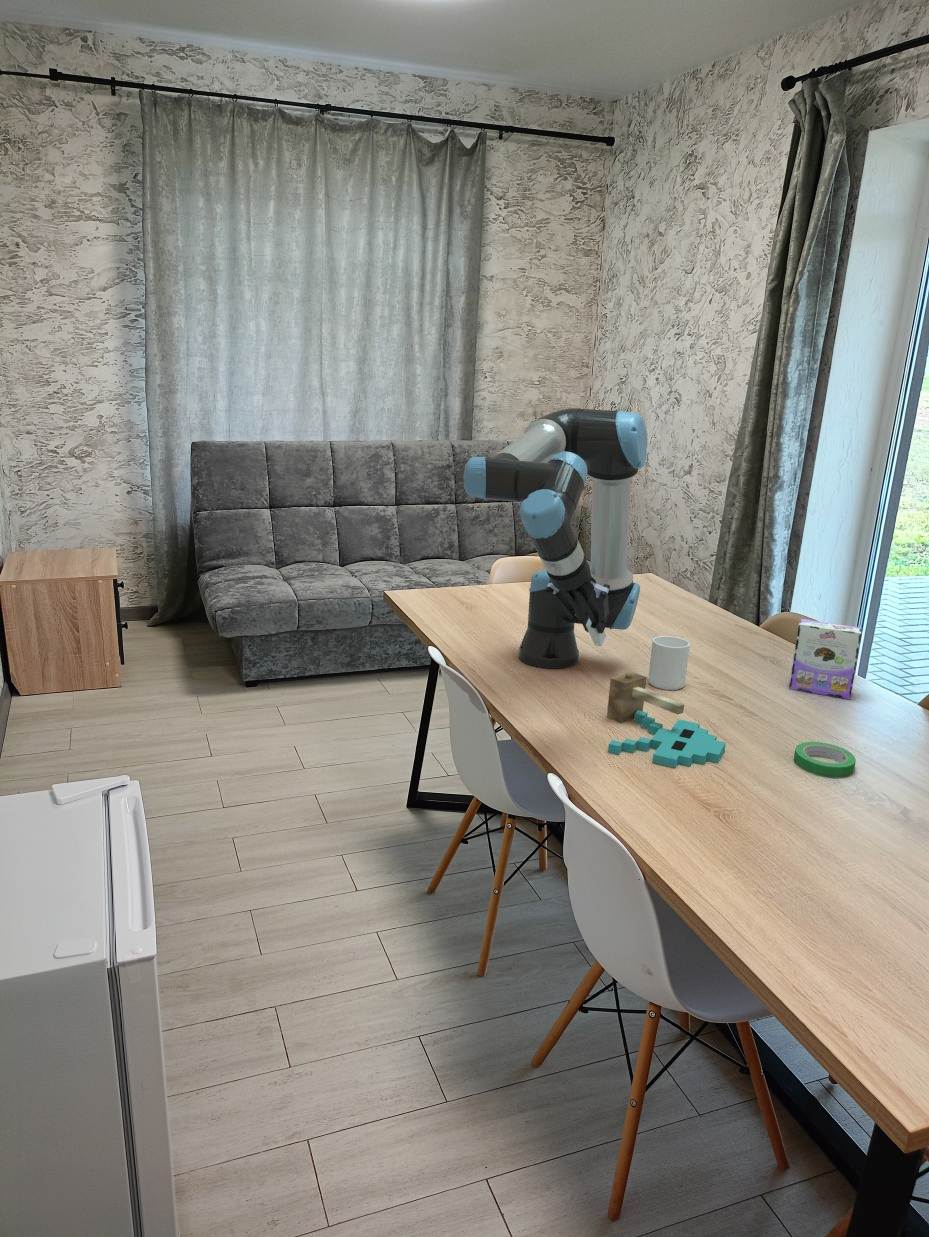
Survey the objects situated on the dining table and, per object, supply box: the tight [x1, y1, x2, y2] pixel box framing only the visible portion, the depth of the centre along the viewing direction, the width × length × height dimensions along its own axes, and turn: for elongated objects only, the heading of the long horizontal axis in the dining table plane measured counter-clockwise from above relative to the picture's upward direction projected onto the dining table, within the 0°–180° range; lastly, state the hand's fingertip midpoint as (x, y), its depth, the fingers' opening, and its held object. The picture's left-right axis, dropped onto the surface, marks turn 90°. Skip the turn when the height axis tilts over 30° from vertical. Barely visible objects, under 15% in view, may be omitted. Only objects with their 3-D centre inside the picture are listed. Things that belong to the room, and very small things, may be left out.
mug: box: [648, 635, 691, 691], centre depth 215 cm, size 9×12×11 cm
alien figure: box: [607, 710, 727, 769], centre depth 182 cm, size 20×2×20 cm
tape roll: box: [793, 741, 857, 779], centre depth 176 cm, size 11×11×3 cm
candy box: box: [788, 618, 863, 700], centre depth 213 cm, size 14×6×16 cm, turn 65°
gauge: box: [606, 671, 685, 724], centre depth 189 cm, size 16×7×10 cm, turn 40°
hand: (600, 640), depth 181 cm, fingers closed
